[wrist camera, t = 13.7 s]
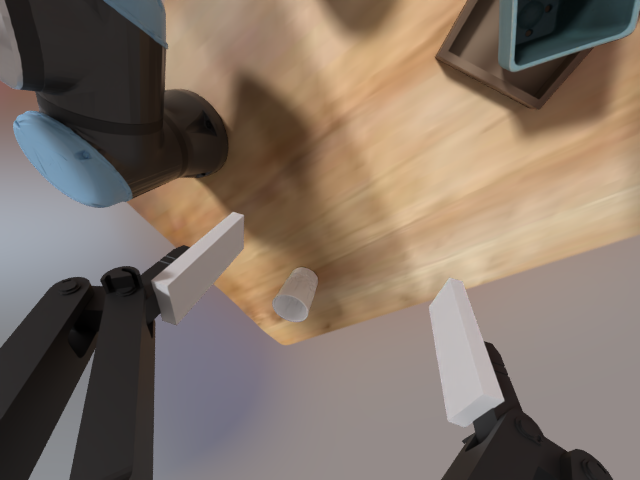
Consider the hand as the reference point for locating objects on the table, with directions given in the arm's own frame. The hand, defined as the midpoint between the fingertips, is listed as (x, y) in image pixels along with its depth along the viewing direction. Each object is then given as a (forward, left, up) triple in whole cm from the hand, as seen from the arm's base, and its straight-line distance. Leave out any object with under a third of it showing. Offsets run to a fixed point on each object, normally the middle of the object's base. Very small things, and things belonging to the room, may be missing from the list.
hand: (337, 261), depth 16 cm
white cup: (0, -33, -31) cm, 45 cm away
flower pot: (+8, +21, -30) cm, 37 cm away
